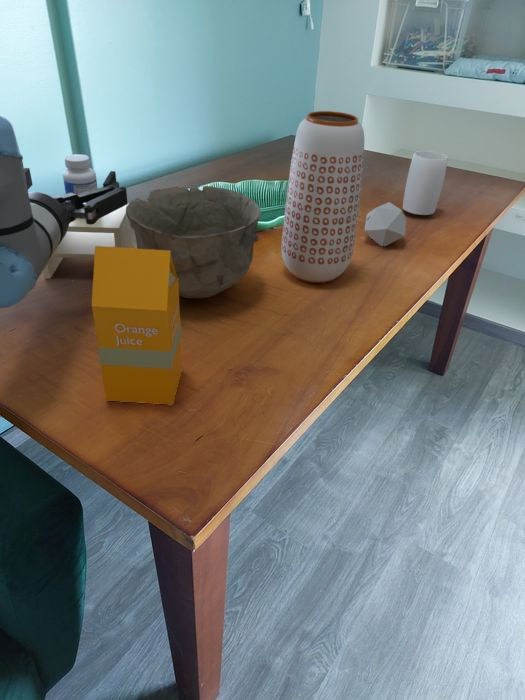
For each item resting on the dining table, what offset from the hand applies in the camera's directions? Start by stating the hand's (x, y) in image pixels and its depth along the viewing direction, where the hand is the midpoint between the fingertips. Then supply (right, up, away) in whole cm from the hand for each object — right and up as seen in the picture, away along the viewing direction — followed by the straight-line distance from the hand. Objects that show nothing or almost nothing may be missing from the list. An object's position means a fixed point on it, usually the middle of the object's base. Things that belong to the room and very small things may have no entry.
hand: (71, 177), depth 87 cm
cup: (+70, +5, +45) cm, 83 cm away
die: (+57, -5, +30) cm, 65 cm away
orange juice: (+15, -33, -15) cm, 39 cm away
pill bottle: (0, -4, +8) cm, 9 cm away
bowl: (+19, -17, +8) cm, 27 cm away
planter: (+41, -14, +15) cm, 46 cm away
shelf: (-1, -12, +13) cm, 18 cm away
